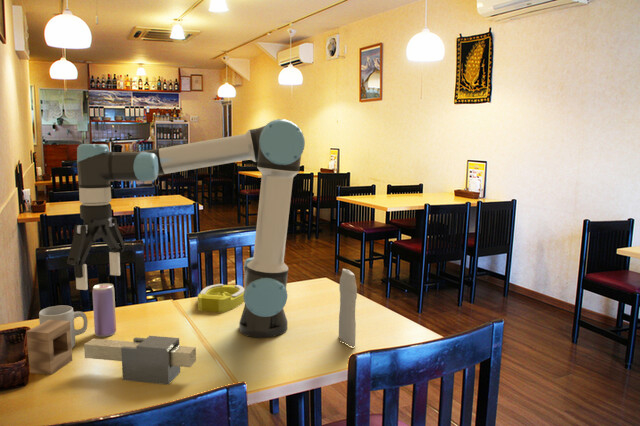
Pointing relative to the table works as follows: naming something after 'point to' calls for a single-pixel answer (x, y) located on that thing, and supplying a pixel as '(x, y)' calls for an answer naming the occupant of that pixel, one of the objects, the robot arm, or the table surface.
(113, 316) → the beverage can
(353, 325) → the tall pale column
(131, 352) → the sleeve
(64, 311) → the mug
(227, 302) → the ashtray
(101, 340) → the beige square bar
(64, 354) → the socket block
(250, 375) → the table surface
